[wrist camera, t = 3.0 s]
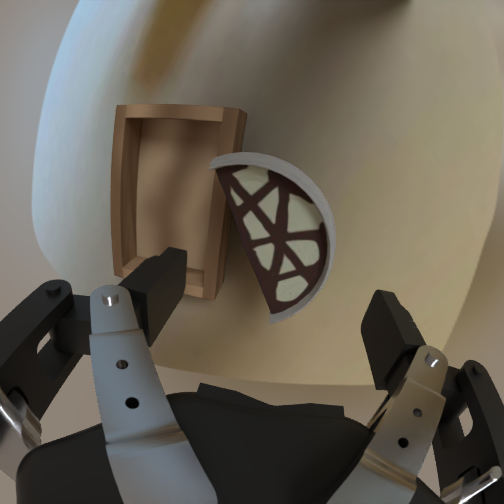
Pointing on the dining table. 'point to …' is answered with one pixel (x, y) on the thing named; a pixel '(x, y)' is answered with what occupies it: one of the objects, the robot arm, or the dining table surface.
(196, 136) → the wooden box
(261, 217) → the food container
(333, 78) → the dining table surface
